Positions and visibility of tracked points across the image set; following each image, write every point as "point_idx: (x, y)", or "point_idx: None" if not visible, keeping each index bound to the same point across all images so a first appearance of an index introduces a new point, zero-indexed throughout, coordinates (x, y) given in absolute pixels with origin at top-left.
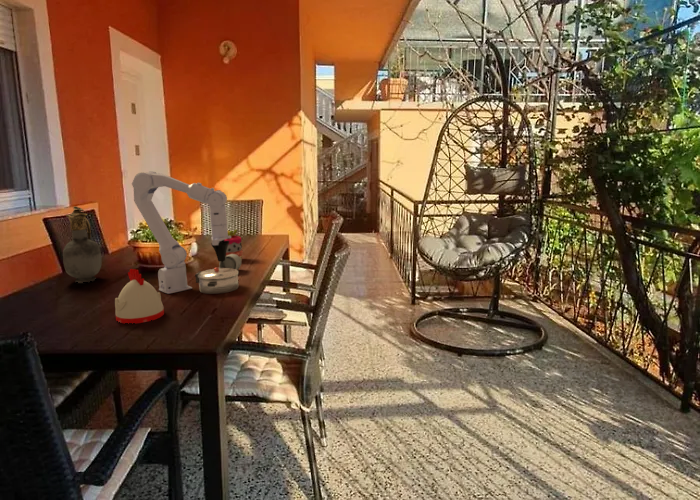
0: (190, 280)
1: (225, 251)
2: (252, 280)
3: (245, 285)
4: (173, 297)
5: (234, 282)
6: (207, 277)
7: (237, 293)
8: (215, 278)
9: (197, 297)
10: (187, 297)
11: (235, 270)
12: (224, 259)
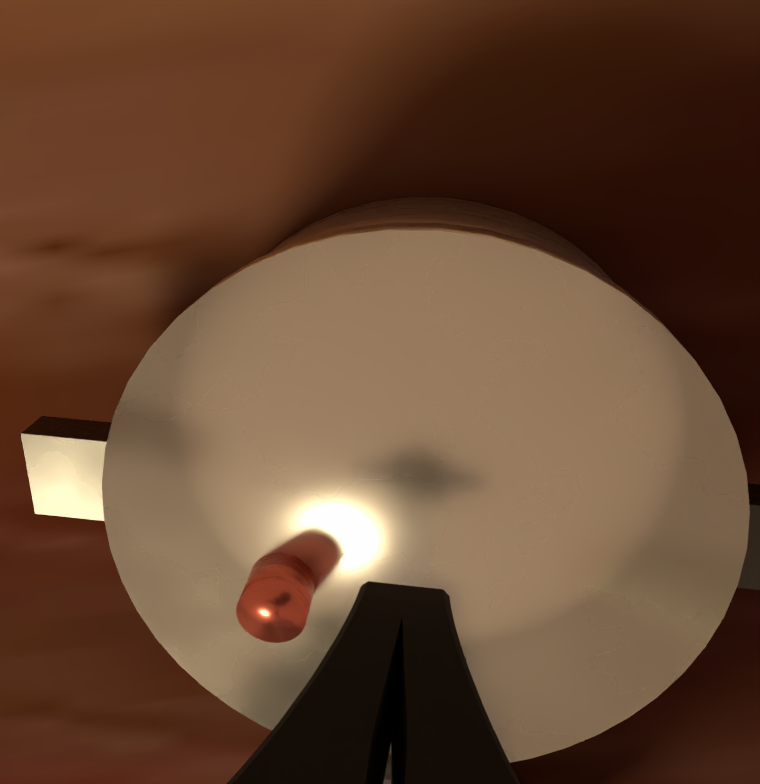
0: (85, 721)
1: (369, 753)
2: (45, 32)
3: (321, 104)
4: (671, 771)
5: (554, 248)
6: (683, 650)
7: (734, 161)
8: (742, 541)
9: (751, 592)
10: (715, 673)
11: (286, 296)
12: (436, 607)
